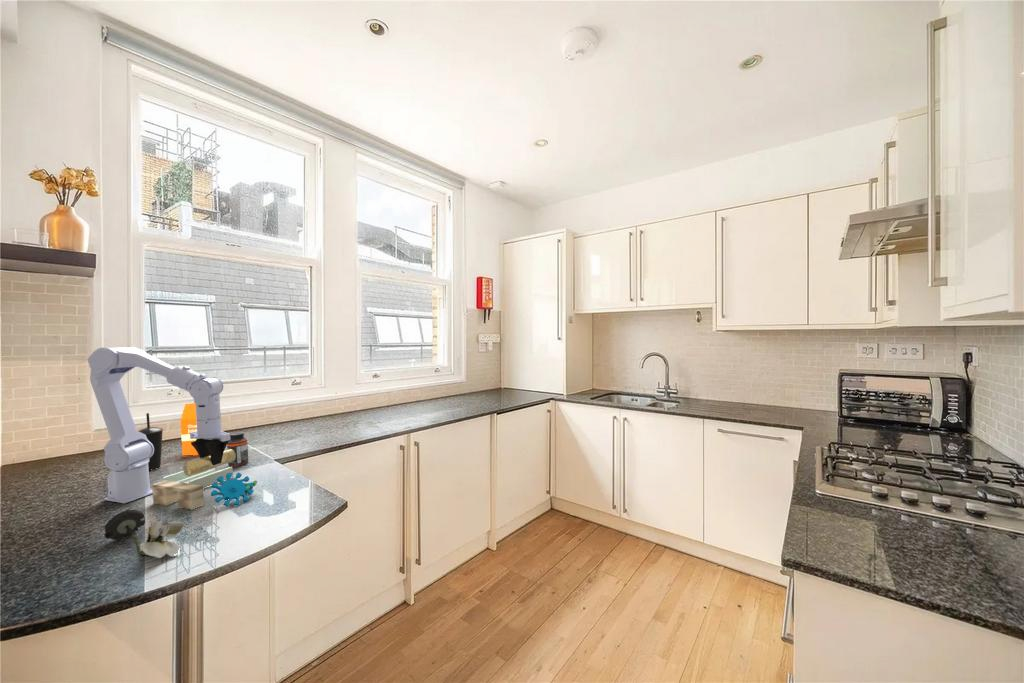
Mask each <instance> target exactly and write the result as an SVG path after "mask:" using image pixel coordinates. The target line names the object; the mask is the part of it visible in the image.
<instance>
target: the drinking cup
mask: <svg viewBox="0 0 1024 683" xmlns="http://www.w3.org/2000/svg"><path fill="white" fill-rule="evenodd" d="M145 415H146V427H145V428H141V429H139V430H137V431H138V432H141V433H143V434H145V435H146V437H147V439H148V440H149V441H150V442H151V443H152V444H153V446H154V453H153V455H152V456H151V457H150V458H149V460H150V461H149V462H148V468H149V470H151V469H156V468H158V469H160V468H161V467H160V466H162V465H161V464H162V463H161V462H162V449H163V447H162V446H163V431H164V428H162V427H156V426H154V427H153V426H152V427H151V425H150V422H151V421H150V413H149V412H147V413H146V414H145ZM159 467H160V468H159ZM156 470H157V469H156Z"/></svg>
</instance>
